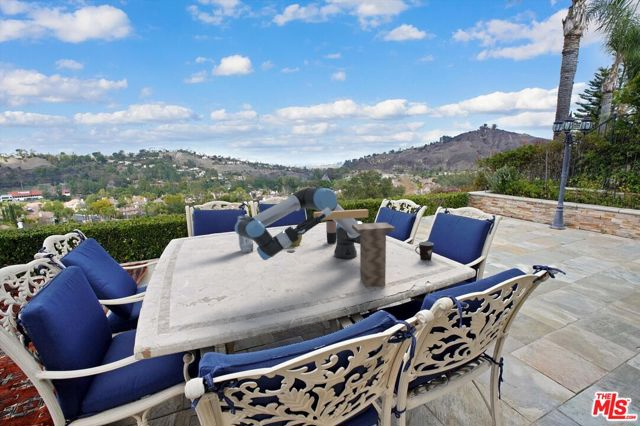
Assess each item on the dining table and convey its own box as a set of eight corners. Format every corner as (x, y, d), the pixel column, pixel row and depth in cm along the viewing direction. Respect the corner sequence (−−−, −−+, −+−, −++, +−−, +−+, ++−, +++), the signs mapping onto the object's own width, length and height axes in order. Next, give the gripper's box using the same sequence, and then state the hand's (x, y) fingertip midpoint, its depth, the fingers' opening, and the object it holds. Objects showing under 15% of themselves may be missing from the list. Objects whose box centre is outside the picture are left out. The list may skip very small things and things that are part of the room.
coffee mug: (430, 256, 183) (431, 241, 181) (434, 261, 175) (435, 245, 173) (412, 256, 184) (412, 241, 183) (415, 261, 176) (415, 245, 174)
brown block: (314, 220, 133) (314, 213, 133) (313, 219, 136) (313, 212, 136) (368, 217, 137) (368, 210, 136) (366, 216, 140) (366, 209, 139)
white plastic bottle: (241, 254, 199) (238, 216, 195) (239, 250, 209) (236, 213, 204) (254, 252, 203) (251, 214, 198) (251, 248, 212) (248, 212, 208)
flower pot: (303, 244, 220) (302, 232, 218) (297, 247, 212) (296, 235, 210) (293, 243, 223) (292, 231, 222) (287, 246, 215) (286, 234, 214)
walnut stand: (358, 289, 140) (358, 229, 135) (352, 279, 152) (352, 224, 146) (393, 285, 142) (394, 227, 137) (384, 276, 154) (385, 222, 149)
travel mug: (326, 241, 225) (325, 216, 221) (335, 240, 225) (335, 216, 222) (327, 244, 217) (326, 218, 214) (337, 243, 218) (336, 218, 214)
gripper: (291, 238, 143) (331, 213, 144) (293, 248, 127) (337, 219, 128) (283, 226, 141) (323, 201, 142) (284, 234, 126) (329, 206, 126)
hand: (330, 210), depth 135 cm, fingers closed on brown block, 3 cm apart
